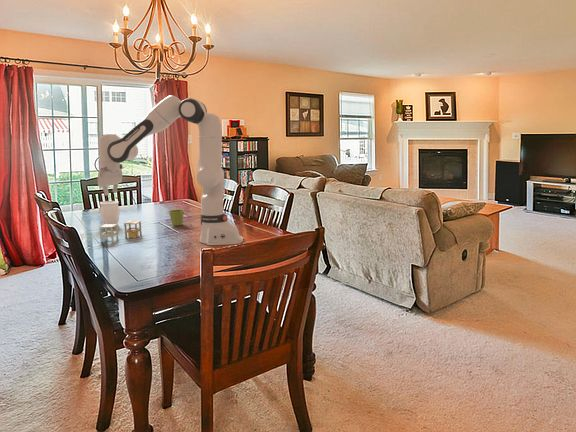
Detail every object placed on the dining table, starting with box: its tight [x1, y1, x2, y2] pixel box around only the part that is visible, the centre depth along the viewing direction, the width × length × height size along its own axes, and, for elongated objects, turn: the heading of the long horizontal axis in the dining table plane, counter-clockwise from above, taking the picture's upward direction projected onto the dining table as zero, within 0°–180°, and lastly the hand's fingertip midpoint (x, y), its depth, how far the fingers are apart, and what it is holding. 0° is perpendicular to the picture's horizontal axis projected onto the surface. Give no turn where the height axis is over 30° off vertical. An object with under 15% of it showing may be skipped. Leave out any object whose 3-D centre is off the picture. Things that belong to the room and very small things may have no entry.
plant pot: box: [168, 209, 185, 227], centre depth 258 cm, size 9×9×9 cm
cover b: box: [98, 223, 119, 243], centre depth 221 cm, size 6×6×8 cm
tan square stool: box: [123, 220, 143, 239], centre depth 229 cm, size 6×6×8 cm
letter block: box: [127, 229, 140, 239], centre depth 230 cm, size 4×4×4 cm
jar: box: [99, 200, 120, 229], centre depth 253 cm, size 11×10×15 cm
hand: (110, 193), depth 217 cm, fingers open, 8 cm apart
